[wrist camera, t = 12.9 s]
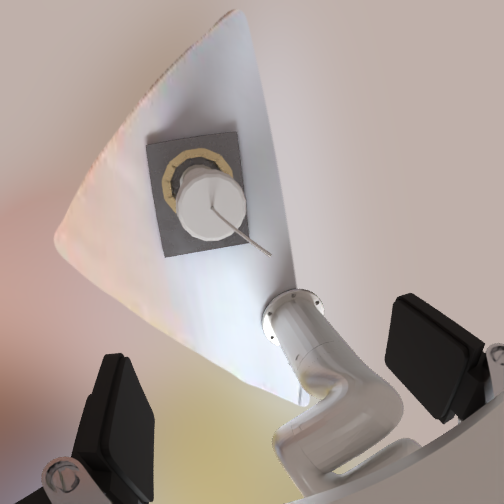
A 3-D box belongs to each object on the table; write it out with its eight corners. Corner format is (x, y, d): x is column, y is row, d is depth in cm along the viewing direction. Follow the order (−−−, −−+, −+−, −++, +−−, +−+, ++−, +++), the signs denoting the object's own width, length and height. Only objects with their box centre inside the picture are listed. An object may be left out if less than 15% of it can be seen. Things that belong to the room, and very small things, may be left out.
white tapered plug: (193, 157, 42) (208, 154, 15) (226, 179, 45) (299, 217, 17) (173, 187, 43) (152, 242, 15) (206, 208, 45) (245, 294, 18)
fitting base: (248, 240, 50) (255, 250, 45) (165, 254, 48) (163, 266, 43) (235, 132, 44) (241, 129, 39) (147, 145, 42) (141, 144, 37)
